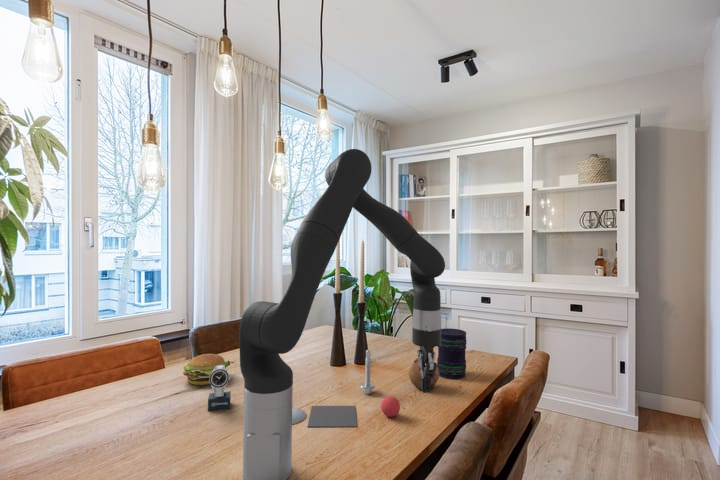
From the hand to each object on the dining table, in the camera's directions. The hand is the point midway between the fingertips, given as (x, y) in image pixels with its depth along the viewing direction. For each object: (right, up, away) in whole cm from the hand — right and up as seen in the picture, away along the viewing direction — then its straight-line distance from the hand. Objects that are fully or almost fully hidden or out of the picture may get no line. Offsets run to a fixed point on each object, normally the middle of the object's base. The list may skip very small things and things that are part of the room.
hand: (426, 391), depth 103 cm
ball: (-9, -4, -1) cm, 10 cm away
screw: (-15, -6, +15) cm, 22 cm away
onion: (+3, -7, +20) cm, 21 cm away
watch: (-56, -6, +3) cm, 56 cm away
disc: (-36, -6, -2) cm, 37 cm away
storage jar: (+14, -7, +32) cm, 36 cm away
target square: (-24, -6, -2) cm, 25 cm away
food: (-68, -6, +24) cm, 72 cm away
